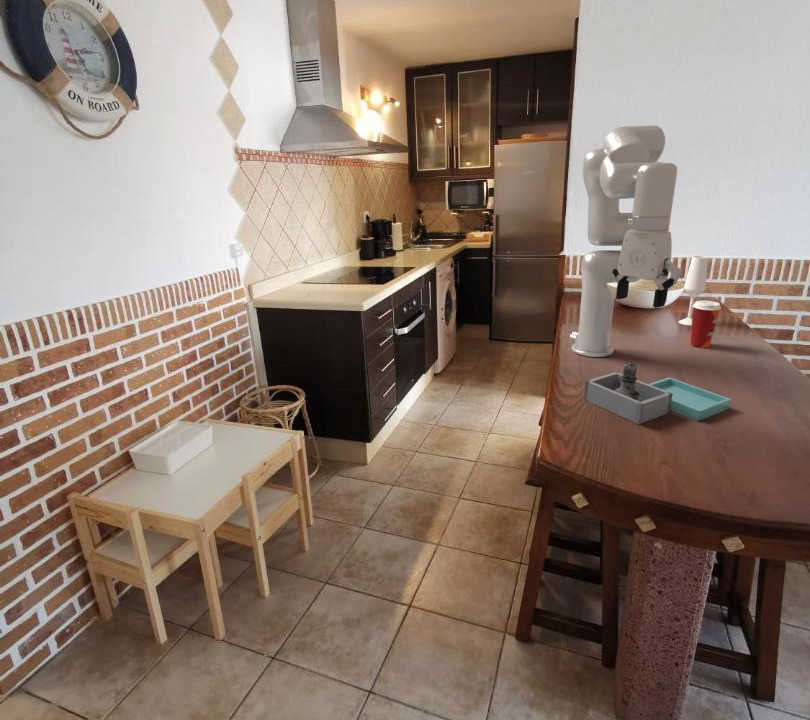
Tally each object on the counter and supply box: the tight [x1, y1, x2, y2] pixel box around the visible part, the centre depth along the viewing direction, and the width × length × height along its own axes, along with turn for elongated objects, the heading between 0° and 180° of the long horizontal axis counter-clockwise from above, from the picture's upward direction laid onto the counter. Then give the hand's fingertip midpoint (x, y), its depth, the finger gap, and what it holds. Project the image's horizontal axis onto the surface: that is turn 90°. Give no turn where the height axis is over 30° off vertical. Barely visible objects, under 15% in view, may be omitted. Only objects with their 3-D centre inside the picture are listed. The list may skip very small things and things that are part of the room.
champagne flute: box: [678, 255, 709, 326], centre depth 179 cm, size 7×7×24 cm
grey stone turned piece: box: [614, 359, 640, 400], centre depth 120 cm, size 6×6×12 cm
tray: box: [648, 377, 732, 422], centre depth 122 cm, size 16×12×2 cm
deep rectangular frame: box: [583, 371, 673, 425], centre depth 121 cm, size 16×11×5 cm
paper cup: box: [689, 300, 722, 349], centre depth 158 cm, size 8×8×14 cm
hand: (639, 302), depth 113 cm, fingers open, 9 cm apart
